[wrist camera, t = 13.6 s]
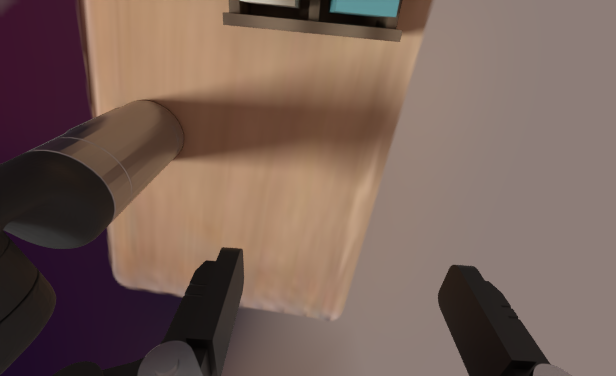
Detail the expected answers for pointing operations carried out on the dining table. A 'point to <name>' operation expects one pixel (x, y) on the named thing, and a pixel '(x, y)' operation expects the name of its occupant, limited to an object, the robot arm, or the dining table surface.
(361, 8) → the teal book
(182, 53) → the dining table surface
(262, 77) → the dining table surface
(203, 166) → the dining table surface
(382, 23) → the book rack
